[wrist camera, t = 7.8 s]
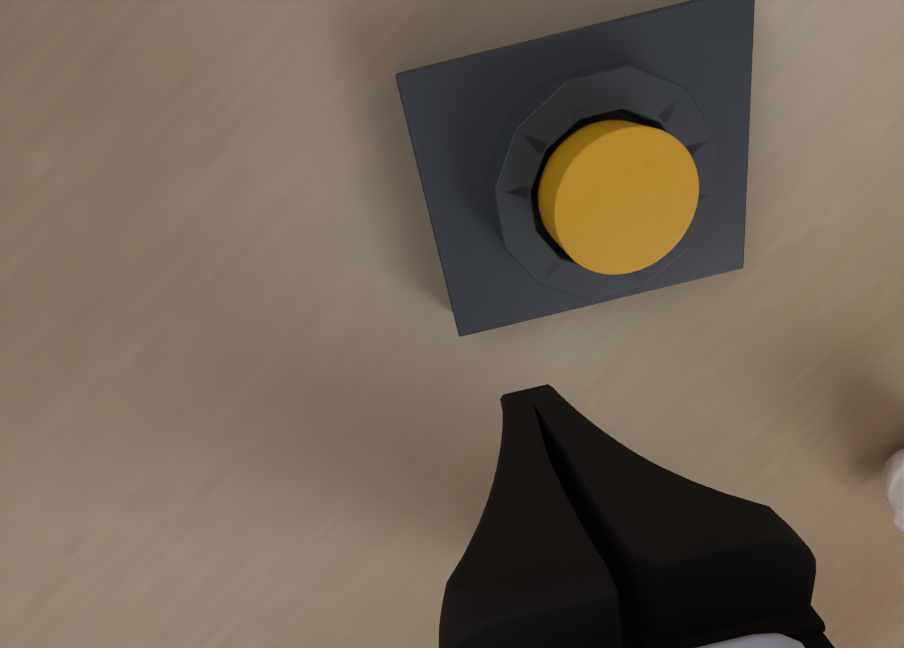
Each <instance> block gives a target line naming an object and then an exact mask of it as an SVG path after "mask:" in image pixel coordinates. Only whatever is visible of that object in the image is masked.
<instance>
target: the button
mask: <svg viewBox="0 0 904 648" xmlns="http://www.w3.org/2000/svg"><path fill="white" fill-rule="evenodd" d="M698 197H699V179H698V173H697V169H696V166H695V163H694V160H693V158H692V157H691V155H690V153H689V151H688V150H687V149H686V147H685V146H684V145H683V144H682V143H681V142H680V141H679V140H678V139H677V138H675V137H674V136H672V135H671V134H669V133H667V132H665V131H663V130H660V129H657V128H653V127H649V126H645V125H641V124H637V123H633V122H629V121H624V120H604V121H598V122H595V123H592V124H589V125H586V126H584V127H582V128H580V129H579V130H577V131H575V132H574V133H572V134H571V135H570V136H568V137H567V138H566V139H565V140H564V141H563V142H562V143H561V144H560V145H559V146H558V147H557V148H556V150H555V151H554V152H553V153H552V155H551V156H550V158H549V160H548V162H547V163H546V166H545V168H544V170H543V172H542V176H541V179H540V183H539V189H538V207H539V212H540V216H541V219H542V222H543V224H544V226H545V228H546V230H547V231H548V233H549V234H550V235H551V237H552V238H553V239H554V240H555V241H556V242H557V243H558V244H559V245H560V247H561V248H562V249H563V250H564V251H565V252H566V253H567V254H568V255H569V256H570V257H571V258H572V259H573V260H574V261H575V262H576V263H578V264H579V265H580V266H582V267H584V268H586V269H588V270H591V271H594V272H597V273H601V274H610V275H617V274H626V273H631V272H635V271H638V270H641V269H643V268H646V267H648V266H650V265H652V264H653V263H655V262H657V261H658V260H660V259H661V258H662V257H664V256H665V255H666V254H667V253H668V252H670V251H671V250H672V249H673V248H674V247H675V245H676V244H677V243H678V242H679V241H680V240H681V238H682V237H683V235H684V234H685V232H686V231H687V229H688V227H689V226H690V223H691V221H692V219H693V217H694V214H695V210H696V207H697V202H698Z"/></svg>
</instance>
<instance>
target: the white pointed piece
mask: <svg viewBox="0 0 904 648" xmlns="http://www.w3.org/2000/svg"><path fill="white" fill-rule="evenodd" d="M881 480H882V485H883V488H884V492H885V494H886V497H887V499H888V501H889V503H890V505H891V508H892V511H893V522H894V525H895V526H896V527H898V528H899V529H900V530H901V531H903V532H904V449H901V450H899V451H897V452H896V453H894V454H893V455H892V456H891V457H890V458H889V459H888V460H887V461H886V463H885V464H884V468H883V470H882V479H881Z"/></svg>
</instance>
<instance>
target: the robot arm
mask: <svg viewBox="0 0 904 648" xmlns="http://www.w3.org/2000/svg"><path fill="white" fill-rule="evenodd" d="M500 401H501V406H502V411H503V429H502V439H501V448H500V453H499V459H498V464H497V469H496V473H495V477H494V481H493V485H492V488H491V491H490V495H489V498H488V501H487V503H486V506H485V509H484V512H483V514H482V517H481V519H480V522H479V524H478V526H477V529H476V531H475V533H474V535H473V537H472V539H471V541H470V543H469V545H468V547H467V549H466V551H465V553H464V555H463V557H462V558H461V560H460V562H459V563H458V565H457V566H456V568H455V570H454V571H453V573H452V575H451V576H450V578H449V580H448V581H447V584H446V588H445V593H444V598H443V604H442V610H441V616H440V626H439V648H834V647H833V645H832V644H831V643H830V641H829V640H828V639H827V637H826V636H825V635H824V633H823V632H824V631H825V625H824V622H823V620H822V619H821V618H820V617H819V615H818V614H817V613H816V611H815V610H814V609H813V608H812V606H811V599H812V593H813V587H814V581H815V575H816V559H815V557H814V555H813V553H812V552H811V550H810V548H809V547H808V546H807V545H806V544H805V543H804V541H803V540H802V539H801V538H800V537H799V536H798V534H797V533H796V532H795V531H794V530H793V529H792V528H791V527H790V526H789V525H788V524H787V523H786V522H785V521H784V520H783V519H782V518H781V517H779V516H778V515H777V514H776V513H775V512H774V511H773V510H772V509H771V508H770V507H769V506H766V505H762V504H759V503H755V502H752V501H749V500H745V499H742V498H739V497H735V496H732V495H729V494H725V493H723V492H720V491H717V490H714V489H712V488H709V487H706V486H704V485H701V484H698V483H696V482H693V481H691V480H689V479H686V478H684V477H682V476H680V475H677V474H675V473H673V472H671V471H669V470H667V469H664V468H662V467H660V466H658V465H656V464H654V463H652V462H650V461H649V460H647V459H645V458H643V457H642V456H640V455H638V454H637V453H635V452H633V451H632V450H630V449H628V448H627V447H625V446H624V445H622V444H621V443H619V442H618V441H616V440H615V439H613V438H612V437H611V436H609V435H608V434H606V433H605V432H604V431H602V430H601V429H599V428H598V427H597V426H596V425H594V424H593V423H592V422H591V421H589V420H588V419H587V418H586V417H584V416H583V415H582V414H581V413H579V412H578V411H577V410H576V409H575V408H574V407H573V406H571V405H570V404H569V403H568V402H567V401H566V400H565V399H564V398H563V397H562V396H561V395H560V394H559V393H558V392H557V391H556V390H555V389H554V388H553V387H551V386H550V385H548V384H547V385H543V386H538V387H534V388H530V389H525V390H521V391H517V392H513V393H508V394H504V395H503V396H502V397H501V399H500Z"/></svg>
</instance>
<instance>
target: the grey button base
mask: <svg viewBox="0 0 904 648" xmlns="http://www.w3.org/2000/svg"><path fill="white" fill-rule="evenodd" d="M754 3H755V0H691V1H687V2H683V3H679V4H675V5H671V6H667V7H663V8H659V9H655V10H651V11H647V12H643V13H639V14H635V15H631V16H626V17H622V18H618V19H614V20H610V21H606V22H602V23H598V24H594V25H590V26H586V27H582V28H578V29H574V30H570V31H566V32H562V33H558V34H554V35H550V36H546V37H542V38H538V39H534V40H530V41H526V42H522V43H518V44H513V45H509V46H505V47H501V48H497V49H493V50H489V51H485V52H481V53H477V54H473V55H469V56H465V57H461V58H457V59H453V60H449V61H445V62H441V63H437V64H433V65H429V66H425V67H421V68H417V69H413V70H409V71H404V72H400V73H397V74H396V80H397V84H398V88H399V92H400V97H401V101H402V105H403V109H404V113H405V117H406V121H407V125H408V129H409V133H410V138H411V142H412V146H413V150H414V154H415V158H416V162H417V166H418V170H419V174H420V179H421V183H422V187H423V191H424V195H425V199H426V203H427V207H428V211H429V215H430V220H431V224H432V228H433V232H434V236H435V240H436V244H437V248H438V252H439V256H440V260H441V265H442V269H443V273H444V277H445V281H446V285H447V289H448V293H449V297H450V301H451V306H452V310H453V314H454V318H455V322H456V326H457V330H458V334H459V336H465V335H469V334H473V333H477V332H482V331H486V330H490V329H494V328H498V327H502V326H506V325H510V324H514V323H519V322H523V321H527V320H531V319H535V318H539V317H543V316H547V315H552V314H556V313H560V312H564V311H568V310H572V309H576V308H580V307H584V306H589V305H593V304H597V303H601V302H605V301H609V300H613V299H617V298H621V297H626V296H630V295H634V294H638V293H642V292H646V291H650V290H654V289H659V288H663V287H667V286H671V285H675V284H679V283H683V282H687V281H691V280H696V279H700V278H704V277H708V276H712V275H716V274H720V273H724V272H728V271H733V270H737V269H741V268H743V261H744V238H745V214H746V191H747V167H748V144H749V120H750V97H751V73H752V50H753V27H754ZM604 120H624V121H629V122H633V123H637V124H641V125H645V126H649V127H653V128H657V129H660V130H663V131H665V132H667V133H669V134H671V135H672V136H674V137H675V138H677V139H678V140H679V141H680V142H681V143H682V144H683V145H684V146H685V147H686V149H687V150H688V151H689V153H690V155H691V157H692V158H693V160H694V163H695V166H696V169H697V173H698V179H699V197H698V202H697V207H696V210H695V214H694V217H693V219H692V221H691V223H690V226H689V227H688V229H687V231H686V232H685V234H684V235H683V237H682V238H681V240H680V241H679V242H678V243H677V244H676V245H675V247H674V248H673V249H672V250H671V251H670V252H668V253H667V254H666V255H665V256H664V257H662V258H661V259H660V260H658V261H657V262H655V263H653V264H652V265H650V266H648V267H646V268H643V269H641V270H638V271H635V272H631V273H626V274H617V275H610V274H601V273H597V272H594V271H591V270H588V269H586V268H584V267H582V266H580V265H579V264H578V263H576V262H575V261H574V260H573V259H572V258H571V257H570V256H569V255H568V254H567V253H566V252H565V251H564V250H563V249H562V248H561V247H560V245H559V244H558V243H557V242H556V241H555V240H554V239H553V238H552V237H551V235H550V234H549V233H548V231H547V230H546V228H545V226H544V224H543V222H542V219H541V216H540V212H539V207H538V189H539V183H540V179H541V176H542V172H543V170H544V168H545V166H546V163H547V162H548V160H549V158H550V156H551V155H552V153H553V152H554V151H555V150H556V148H557V147H558V146H559V145H560V144H561V143H562V142H563V141H564V140H565V139H566V138H567V137H568V136H570V135H571V134H572V133H574V132H575V131H577V130H579V129H580V128H582V127H584V126H586V125H589V124H592V123H595V122H598V121H604Z"/></svg>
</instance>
